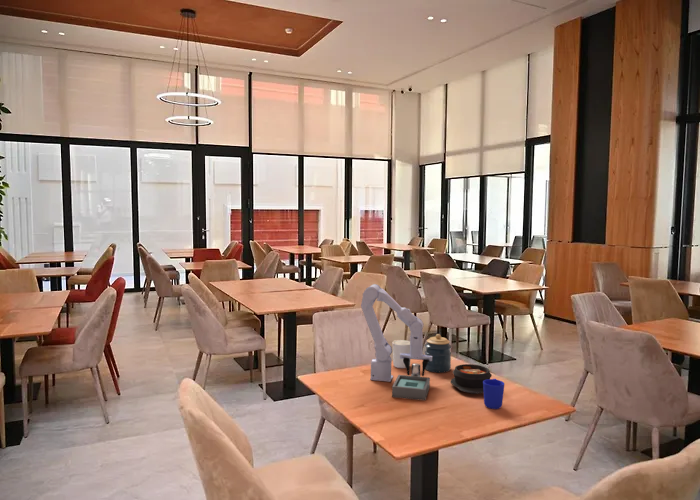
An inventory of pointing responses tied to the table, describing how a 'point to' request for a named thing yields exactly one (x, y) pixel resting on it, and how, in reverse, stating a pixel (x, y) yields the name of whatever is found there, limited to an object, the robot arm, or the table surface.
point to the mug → (493, 393)
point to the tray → (409, 390)
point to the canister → (438, 354)
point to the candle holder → (399, 348)
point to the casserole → (470, 378)
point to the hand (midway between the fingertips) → (415, 374)
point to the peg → (415, 370)
